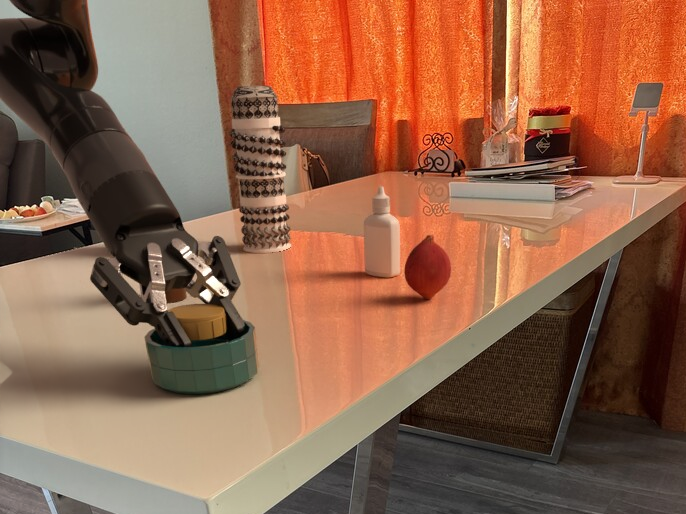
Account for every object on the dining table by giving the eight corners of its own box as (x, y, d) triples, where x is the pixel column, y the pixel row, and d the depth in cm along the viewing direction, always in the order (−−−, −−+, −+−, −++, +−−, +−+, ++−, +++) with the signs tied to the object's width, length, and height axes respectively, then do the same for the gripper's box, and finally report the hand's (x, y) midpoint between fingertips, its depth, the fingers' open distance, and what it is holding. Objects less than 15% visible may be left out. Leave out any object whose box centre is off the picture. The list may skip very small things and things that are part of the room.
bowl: (141, 399, 64) (132, 351, 62) (166, 361, 73) (158, 318, 71) (253, 395, 64) (247, 346, 62) (263, 358, 73) (259, 314, 71)
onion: (402, 305, 89) (402, 238, 85) (406, 293, 94) (406, 230, 90) (449, 305, 88) (451, 238, 85) (450, 293, 93) (452, 229, 90)
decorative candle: (276, 241, 131) (262, 86, 119) (303, 248, 125) (293, 84, 113) (231, 248, 126) (213, 87, 114) (258, 255, 120) (242, 86, 108)
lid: (235, 335, 66) (233, 312, 65) (179, 344, 63) (176, 321, 62) (214, 322, 70) (212, 301, 69) (161, 330, 67) (158, 308, 67)
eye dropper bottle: (373, 279, 102) (371, 189, 96) (362, 271, 106) (360, 185, 101) (402, 277, 103) (402, 187, 97) (390, 269, 107) (389, 183, 102)
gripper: (176, 214, 75) (258, 348, 73) (43, 234, 66) (133, 387, 64) (198, 161, 69) (288, 305, 67) (55, 175, 60) (154, 341, 58)
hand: (212, 344), depth 66 cm, fingers closed on lid, 5 cm apart
